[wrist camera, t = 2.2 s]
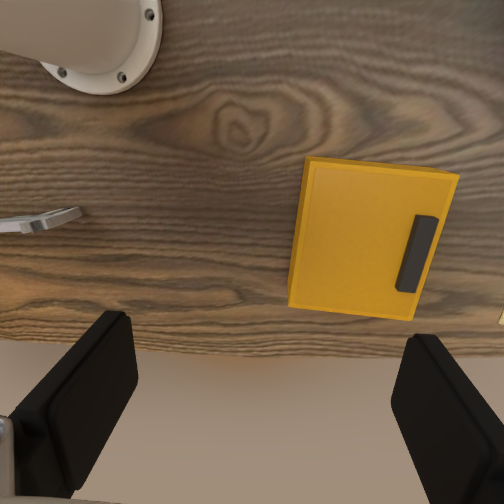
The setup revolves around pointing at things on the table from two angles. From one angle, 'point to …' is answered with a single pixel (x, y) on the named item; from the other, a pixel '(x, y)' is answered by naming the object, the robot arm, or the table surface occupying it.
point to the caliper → (39, 220)
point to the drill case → (366, 236)
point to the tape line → (501, 318)
